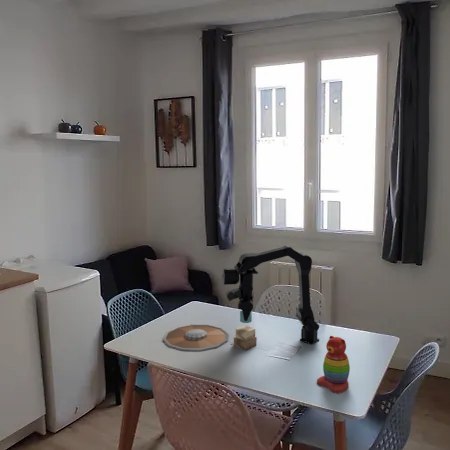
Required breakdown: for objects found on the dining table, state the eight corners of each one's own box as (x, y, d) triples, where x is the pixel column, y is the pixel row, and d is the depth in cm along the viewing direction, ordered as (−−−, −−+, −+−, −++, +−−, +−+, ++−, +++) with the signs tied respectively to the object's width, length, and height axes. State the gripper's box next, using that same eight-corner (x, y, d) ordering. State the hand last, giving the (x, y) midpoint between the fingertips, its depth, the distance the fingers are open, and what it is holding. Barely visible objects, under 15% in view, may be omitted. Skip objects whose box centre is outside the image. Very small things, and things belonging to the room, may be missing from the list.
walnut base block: (256, 346, 208) (256, 337, 208) (245, 350, 203) (245, 341, 203) (244, 341, 213) (244, 333, 212) (233, 346, 208) (233, 337, 207)
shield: (179, 317, 235) (237, 324, 226) (179, 323, 236) (237, 330, 226) (151, 340, 207) (215, 349, 198) (151, 347, 208) (216, 356, 198)
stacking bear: (314, 382, 174) (315, 336, 172) (333, 375, 180) (334, 330, 178) (336, 394, 166) (338, 346, 163) (356, 386, 171) (358, 339, 169)
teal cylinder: (253, 320, 206) (254, 312, 206) (246, 323, 203) (246, 314, 202) (245, 318, 210) (245, 309, 209) (237, 321, 206) (237, 312, 206)
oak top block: (255, 337, 207) (255, 328, 207) (245, 341, 203) (245, 332, 202) (245, 333, 211) (245, 325, 211) (235, 337, 207) (235, 328, 207)
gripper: (228, 277, 214) (228, 311, 216) (226, 289, 195) (225, 325, 198) (253, 278, 213) (253, 311, 215) (253, 290, 194) (252, 326, 197)
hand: (245, 318), depth 206 cm, fingers closed on teal cylinder, 5 cm apart
